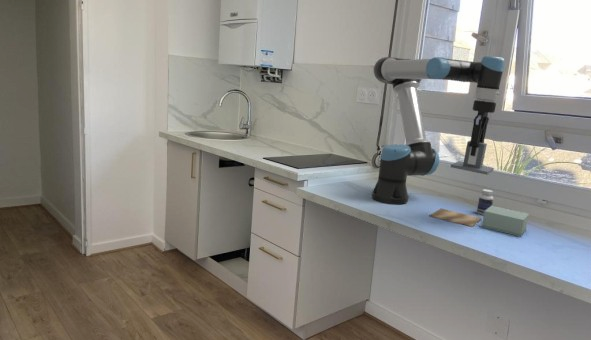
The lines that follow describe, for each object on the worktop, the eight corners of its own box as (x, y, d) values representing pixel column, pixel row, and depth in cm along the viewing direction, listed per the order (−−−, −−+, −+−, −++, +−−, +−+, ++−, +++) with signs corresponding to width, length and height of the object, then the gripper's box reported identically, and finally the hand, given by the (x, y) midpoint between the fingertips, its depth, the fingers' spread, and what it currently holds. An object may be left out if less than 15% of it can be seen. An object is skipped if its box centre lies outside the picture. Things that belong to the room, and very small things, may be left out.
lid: (450, 167, 163) (455, 140, 160) (458, 163, 172) (463, 138, 169) (487, 174, 156) (492, 147, 153) (493, 170, 165) (498, 144, 162)
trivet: (429, 216, 167) (429, 215, 167) (440, 209, 179) (441, 208, 179) (472, 227, 158) (472, 226, 158) (481, 219, 170) (481, 218, 169)
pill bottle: (492, 216, 175) (496, 192, 173) (477, 214, 176) (482, 191, 174) (488, 212, 180) (493, 189, 178) (475, 210, 181) (479, 188, 179)
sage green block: (481, 226, 160) (484, 211, 159) (488, 220, 169) (491, 205, 167) (520, 236, 152) (524, 220, 151) (526, 229, 161) (529, 213, 160)
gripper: (491, 102, 149) (478, 168, 154) (500, 101, 163) (488, 162, 168) (468, 99, 153) (456, 164, 158) (479, 99, 167) (468, 158, 172)
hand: (472, 163), depth 163 cm, fingers closed on lid, 4 cm apart
